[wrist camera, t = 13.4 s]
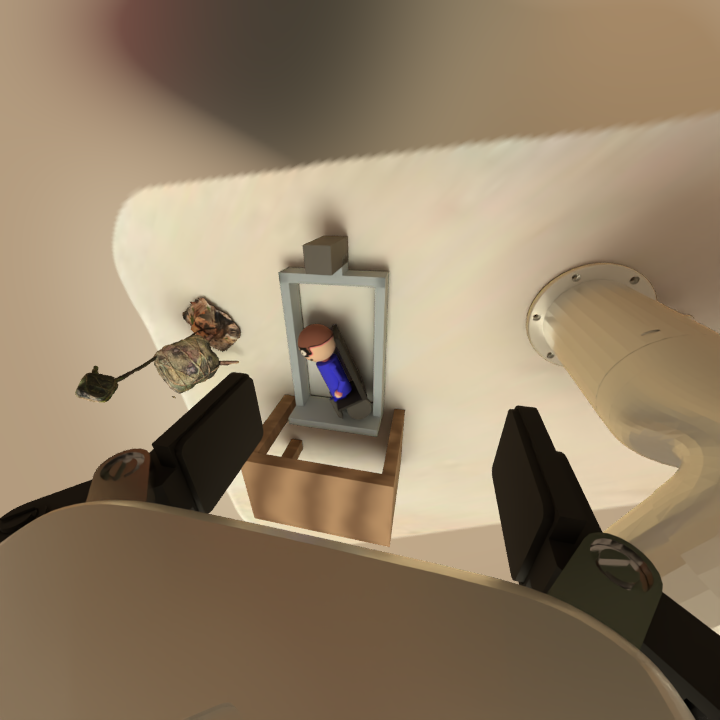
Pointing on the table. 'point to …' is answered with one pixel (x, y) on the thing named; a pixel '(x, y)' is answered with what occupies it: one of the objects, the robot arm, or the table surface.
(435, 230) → the table surface
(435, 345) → the table surface
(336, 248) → the sled
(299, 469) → the small wooden table
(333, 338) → the character figurine
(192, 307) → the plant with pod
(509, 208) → the table surface
